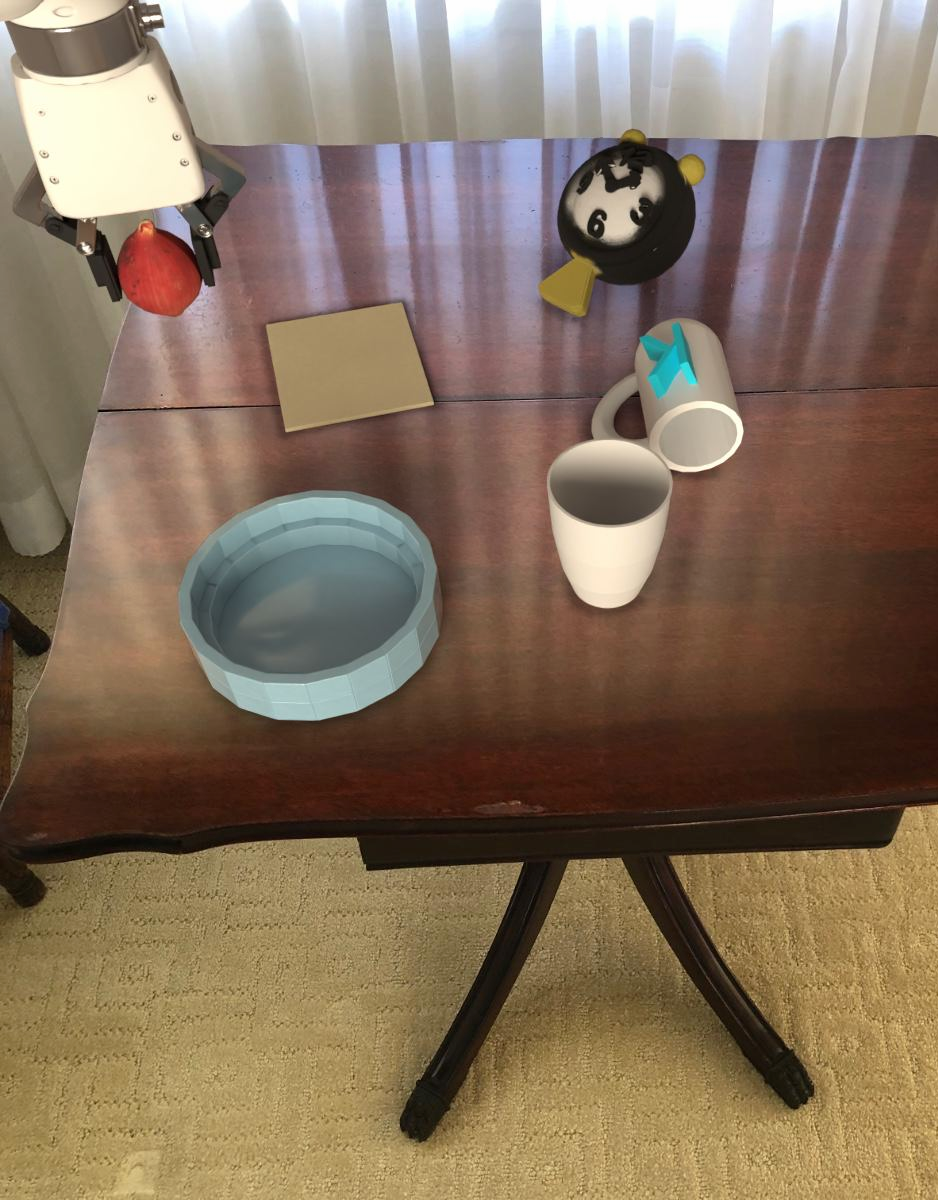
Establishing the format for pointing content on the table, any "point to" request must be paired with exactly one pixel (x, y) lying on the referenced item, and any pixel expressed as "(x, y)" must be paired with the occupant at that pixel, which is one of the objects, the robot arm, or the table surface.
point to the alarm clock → (623, 219)
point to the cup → (608, 516)
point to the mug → (679, 397)
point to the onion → (158, 271)
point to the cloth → (346, 366)
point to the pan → (312, 604)
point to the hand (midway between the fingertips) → (163, 281)
